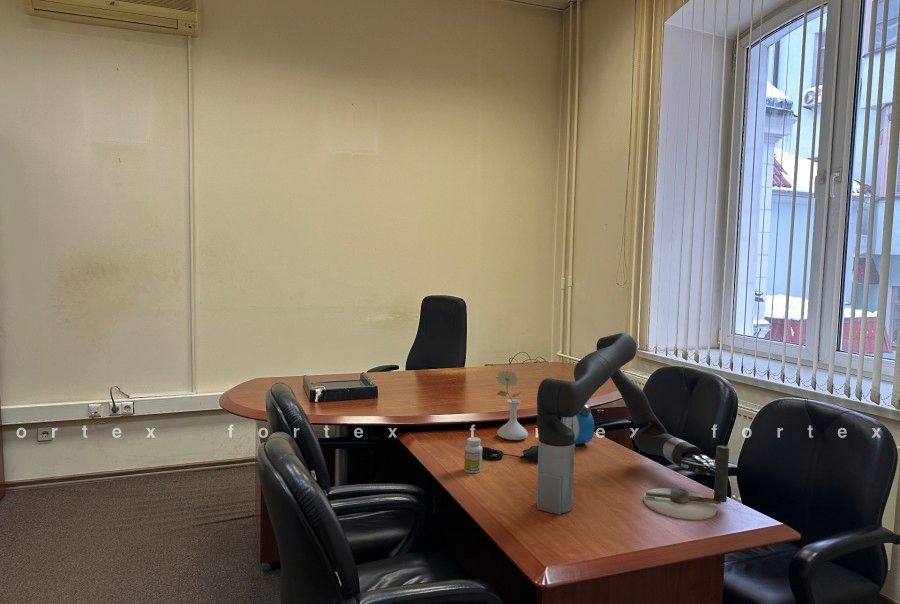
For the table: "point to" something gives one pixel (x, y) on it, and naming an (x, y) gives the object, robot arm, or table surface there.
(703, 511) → the plate
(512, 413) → the flower in vase
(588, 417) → the alarm clock
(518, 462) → the table surface
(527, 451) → the computer mouse
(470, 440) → the supplement bottle
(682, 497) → the dial
